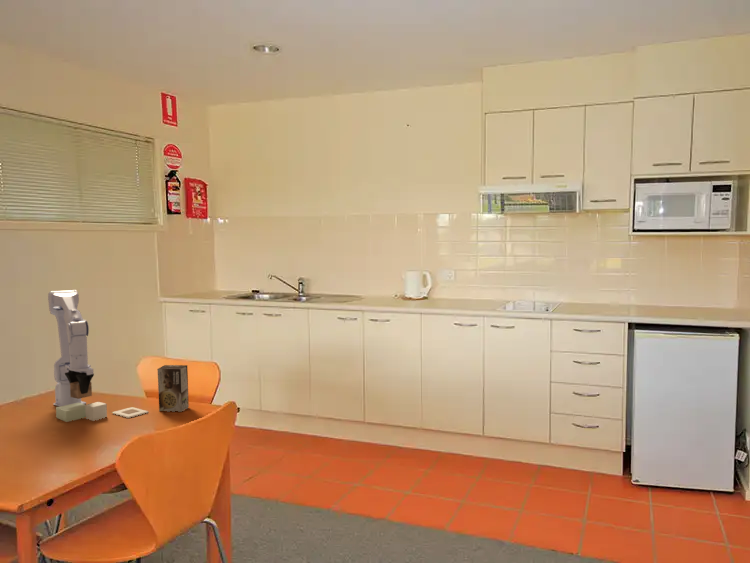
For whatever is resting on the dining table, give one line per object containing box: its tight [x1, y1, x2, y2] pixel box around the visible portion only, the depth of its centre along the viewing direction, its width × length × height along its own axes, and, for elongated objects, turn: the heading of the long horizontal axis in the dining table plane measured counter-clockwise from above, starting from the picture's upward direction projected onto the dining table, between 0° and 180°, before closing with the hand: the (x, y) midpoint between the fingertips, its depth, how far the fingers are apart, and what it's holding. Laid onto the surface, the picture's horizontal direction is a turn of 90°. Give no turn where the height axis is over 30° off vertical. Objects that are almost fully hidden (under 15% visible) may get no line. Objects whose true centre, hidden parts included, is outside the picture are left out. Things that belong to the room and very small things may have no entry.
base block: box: [55, 403, 86, 423], centre depth 210 cm, size 8×8×4 cm
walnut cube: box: [70, 381, 93, 399], centre depth 212 cm, size 5×5×5 cm
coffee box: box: [157, 364, 190, 413], centre depth 219 cm, size 9×6×16 cm
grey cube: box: [84, 401, 108, 422], centre depth 209 cm, size 5×5×5 cm
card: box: [111, 406, 149, 419], centre depth 214 cm, size 10×8×1 cm
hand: (80, 392), depth 211 cm, fingers closed on walnut cube, 5 cm apart
